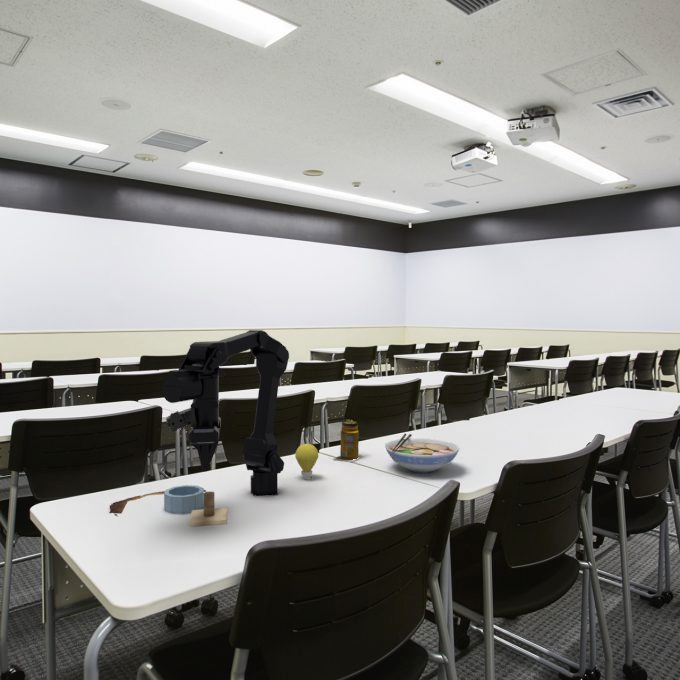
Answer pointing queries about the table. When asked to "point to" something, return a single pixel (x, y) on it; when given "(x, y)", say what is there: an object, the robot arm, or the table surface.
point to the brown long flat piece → (120, 505)
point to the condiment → (349, 442)
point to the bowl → (183, 499)
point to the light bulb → (306, 459)
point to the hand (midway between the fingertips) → (206, 465)
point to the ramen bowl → (421, 453)
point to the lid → (208, 513)
